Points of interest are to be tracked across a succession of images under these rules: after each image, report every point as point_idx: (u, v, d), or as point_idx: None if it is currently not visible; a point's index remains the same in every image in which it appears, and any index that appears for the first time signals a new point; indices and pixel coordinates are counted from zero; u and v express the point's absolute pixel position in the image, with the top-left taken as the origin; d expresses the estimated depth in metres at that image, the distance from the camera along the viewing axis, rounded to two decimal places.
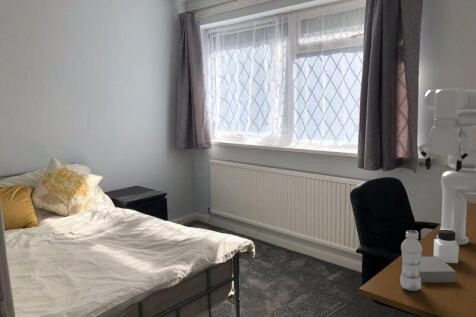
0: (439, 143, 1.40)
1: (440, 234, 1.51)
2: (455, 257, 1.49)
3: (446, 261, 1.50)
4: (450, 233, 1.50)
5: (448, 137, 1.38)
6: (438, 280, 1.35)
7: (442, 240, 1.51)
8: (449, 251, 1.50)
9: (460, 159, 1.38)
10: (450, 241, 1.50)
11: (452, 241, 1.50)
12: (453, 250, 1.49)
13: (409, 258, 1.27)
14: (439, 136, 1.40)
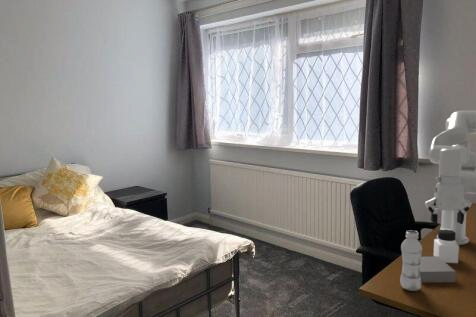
0: None
1: (440, 234, 1.51)
2: (455, 257, 1.49)
3: (446, 261, 1.50)
4: (450, 233, 1.50)
5: None
6: (438, 280, 1.35)
7: (442, 240, 1.51)
8: (449, 251, 1.50)
9: None
10: (450, 241, 1.50)
11: (452, 241, 1.50)
12: (453, 250, 1.49)
13: (409, 258, 1.27)
14: None
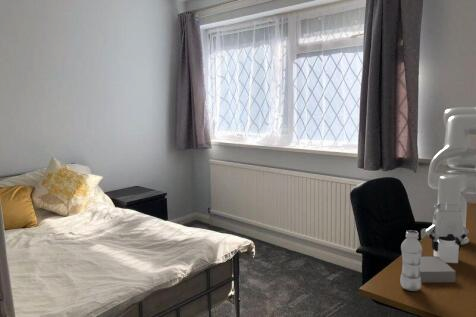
0: None
1: None
2: (455, 257, 1.49)
3: (446, 261, 1.50)
4: None
5: None
6: (438, 280, 1.35)
7: (442, 240, 1.51)
8: (449, 251, 1.50)
9: None
10: (450, 241, 1.50)
11: (452, 241, 1.50)
12: (453, 250, 1.49)
13: (409, 258, 1.27)
14: None
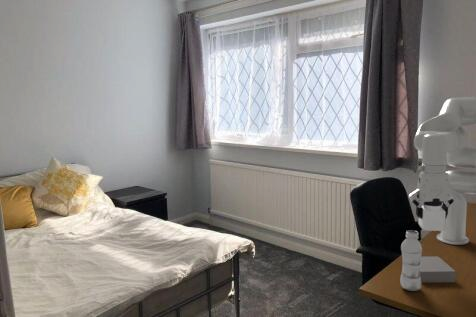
0: None
1: None
2: (441, 224, 1.35)
3: (431, 229, 1.36)
4: None
5: None
6: (438, 280, 1.35)
7: (427, 206, 1.36)
8: (434, 217, 1.35)
9: None
10: (436, 206, 1.35)
11: (438, 206, 1.35)
12: (439, 216, 1.34)
13: (409, 258, 1.27)
14: None
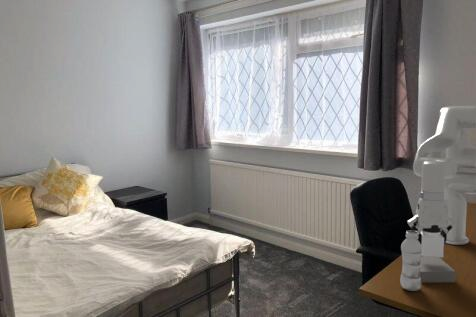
0: None
1: None
2: (440, 251, 1.36)
3: (430, 255, 1.37)
4: None
5: None
6: (438, 280, 1.35)
7: (426, 232, 1.37)
8: (433, 244, 1.36)
9: None
10: (435, 233, 1.36)
11: (437, 233, 1.36)
12: (438, 243, 1.36)
13: (409, 258, 1.27)
14: None
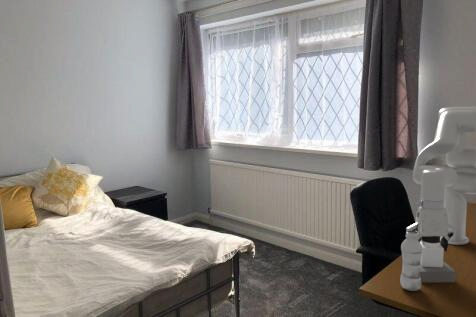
0: None
1: None
2: (440, 261, 1.37)
3: (430, 265, 1.38)
4: None
5: None
6: (438, 280, 1.35)
7: (426, 242, 1.38)
8: (433, 254, 1.37)
9: None
10: (434, 243, 1.37)
11: (436, 243, 1.37)
12: (438, 253, 1.37)
13: (409, 258, 1.27)
14: None
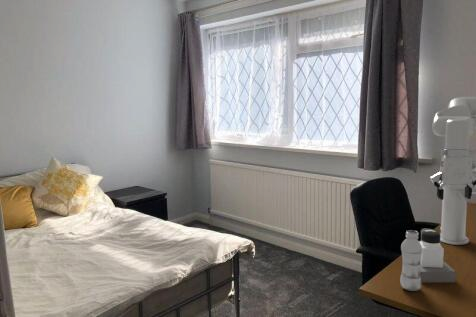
0: None
1: (424, 236, 1.39)
2: (440, 261, 1.37)
3: (430, 265, 1.38)
4: (434, 235, 1.37)
5: None
6: (438, 280, 1.35)
7: (426, 243, 1.38)
8: (433, 254, 1.37)
9: None
10: (434, 244, 1.37)
11: (436, 244, 1.37)
12: (438, 253, 1.36)
13: (409, 258, 1.27)
14: None
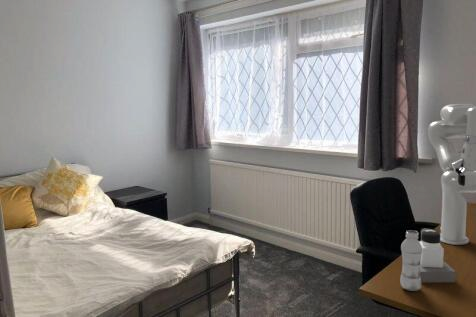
0: None
1: (424, 236, 1.39)
2: (440, 261, 1.37)
3: (430, 265, 1.38)
4: (434, 235, 1.37)
5: None
6: (438, 280, 1.35)
7: (426, 243, 1.38)
8: (433, 254, 1.37)
9: None
10: (434, 244, 1.37)
11: (436, 244, 1.37)
12: (438, 253, 1.36)
13: (409, 258, 1.27)
14: None
